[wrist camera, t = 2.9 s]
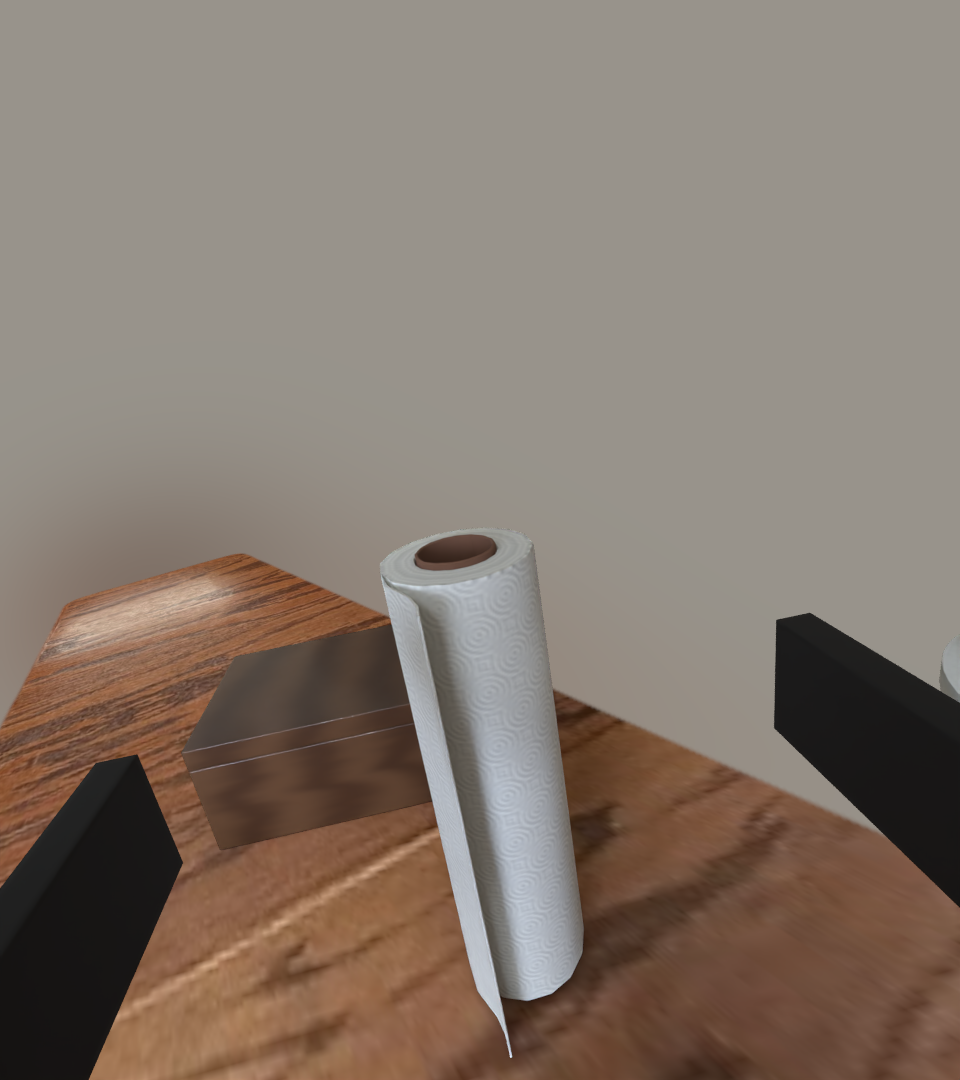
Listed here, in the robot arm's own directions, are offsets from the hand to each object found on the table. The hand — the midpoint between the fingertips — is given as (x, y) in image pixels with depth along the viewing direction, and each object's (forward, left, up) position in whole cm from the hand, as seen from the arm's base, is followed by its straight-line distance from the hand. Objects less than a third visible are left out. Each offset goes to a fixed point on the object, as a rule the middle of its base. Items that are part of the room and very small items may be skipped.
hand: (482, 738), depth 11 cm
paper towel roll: (0, -10, -21) cm, 23 cm away
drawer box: (+10, -27, -21) cm, 36 cm away
